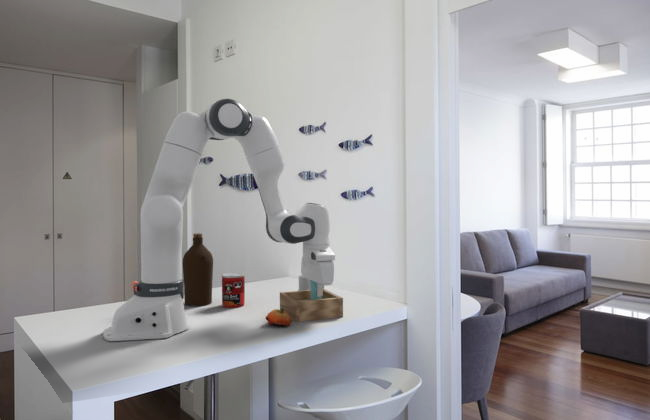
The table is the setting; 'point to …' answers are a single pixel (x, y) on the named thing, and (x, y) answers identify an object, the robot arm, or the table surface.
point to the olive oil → (197, 273)
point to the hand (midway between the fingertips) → (316, 294)
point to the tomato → (279, 317)
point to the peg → (314, 291)
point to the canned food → (233, 290)
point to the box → (311, 305)
